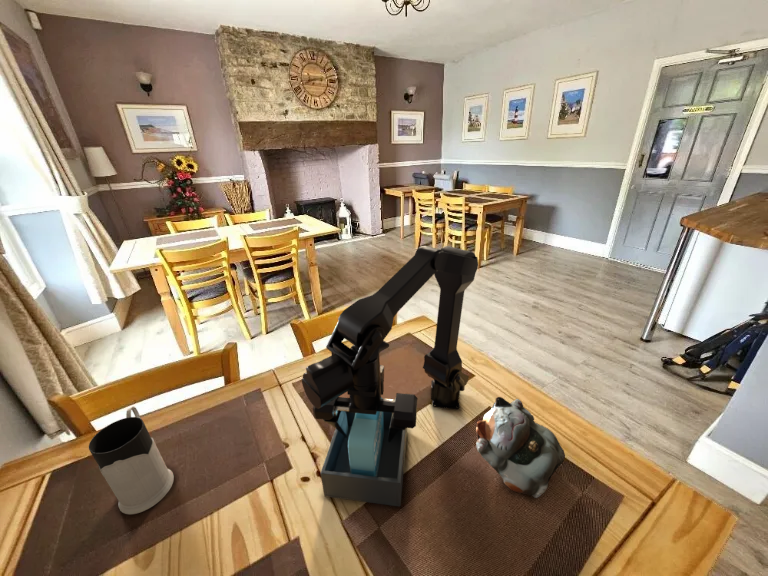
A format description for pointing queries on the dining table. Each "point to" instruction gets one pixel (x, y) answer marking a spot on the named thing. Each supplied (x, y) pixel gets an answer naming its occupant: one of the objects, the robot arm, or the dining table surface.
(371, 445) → the light blue flat block
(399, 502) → the dark grey open box
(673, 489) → the dining table surface
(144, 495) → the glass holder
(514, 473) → the lucky cat figurine
